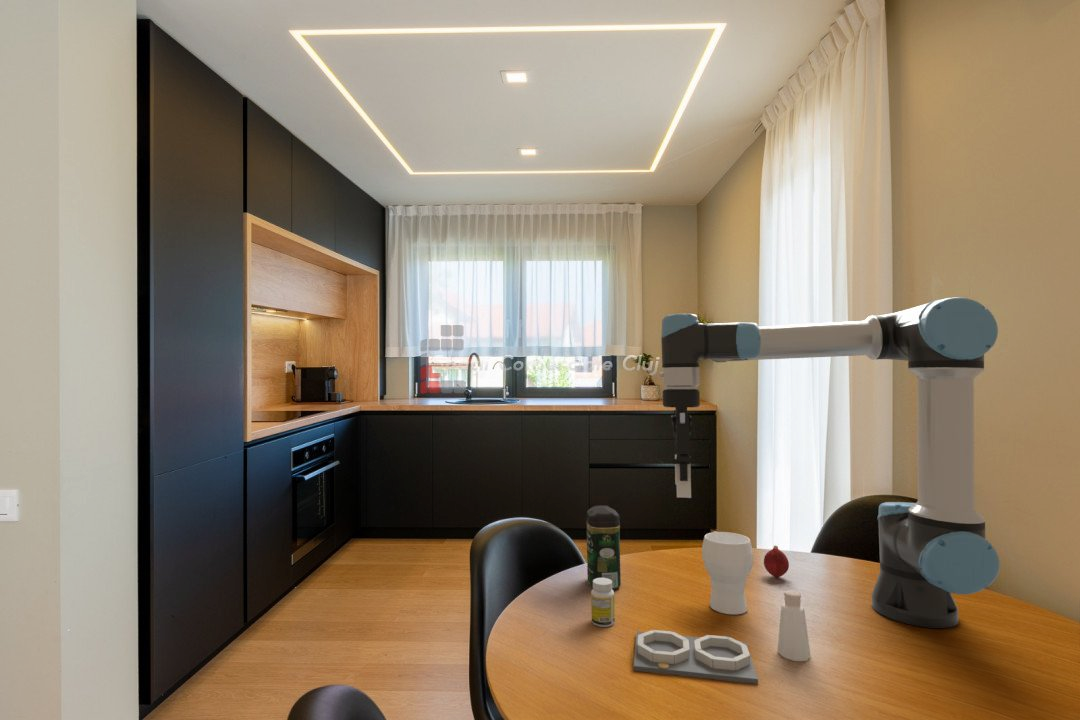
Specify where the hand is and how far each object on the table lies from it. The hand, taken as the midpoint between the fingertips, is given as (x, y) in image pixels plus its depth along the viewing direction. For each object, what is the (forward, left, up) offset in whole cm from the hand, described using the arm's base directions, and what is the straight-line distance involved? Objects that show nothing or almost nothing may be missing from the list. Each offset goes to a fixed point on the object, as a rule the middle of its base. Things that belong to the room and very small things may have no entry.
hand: (682, 490), depth 112 cm
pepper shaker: (-19, +10, -27) cm, 34 cm away
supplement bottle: (+16, +4, -27) cm, 32 cm away
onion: (-24, -30, -27) cm, 47 cm away
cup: (-10, -9, -27) cm, 30 cm away
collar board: (-1, +15, -27) cm, 31 cm away
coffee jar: (+18, -17, -27) cm, 37 cm away
